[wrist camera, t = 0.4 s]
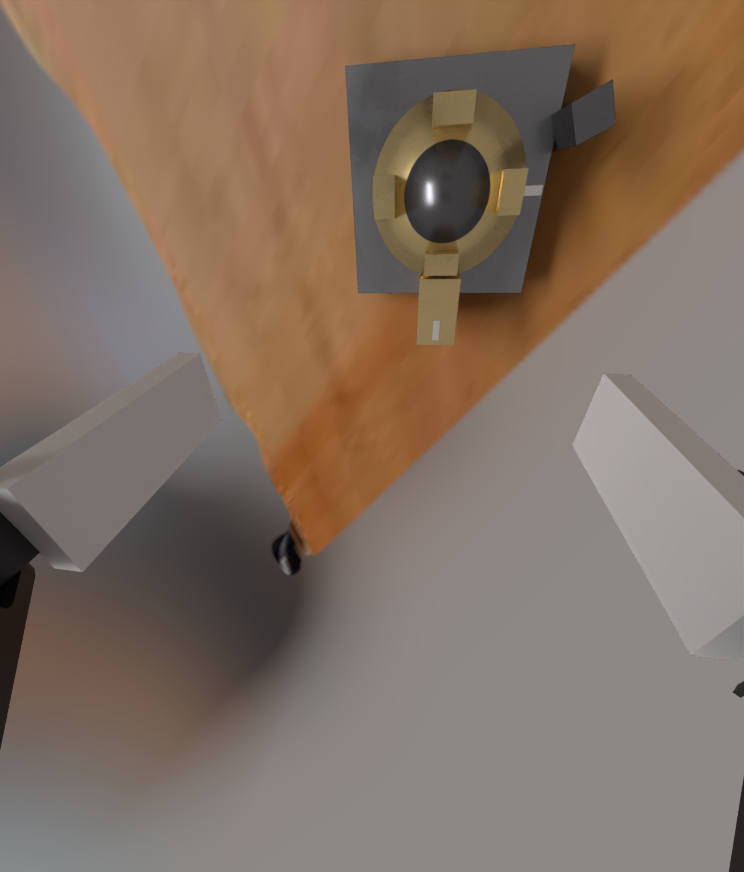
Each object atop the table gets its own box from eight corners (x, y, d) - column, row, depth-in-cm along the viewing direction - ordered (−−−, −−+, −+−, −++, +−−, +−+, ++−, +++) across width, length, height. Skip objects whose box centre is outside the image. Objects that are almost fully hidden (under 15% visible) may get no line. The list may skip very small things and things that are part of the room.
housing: (353, 77, 24) (330, 45, 19) (593, 56, 22) (648, 12, 16) (363, 285, 32) (349, 305, 27) (538, 284, 30) (561, 306, 25)
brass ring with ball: (376, 105, 22) (366, 92, 19) (532, 93, 21) (551, 76, 18) (380, 327, 31) (374, 344, 28) (490, 328, 30) (497, 346, 27)
